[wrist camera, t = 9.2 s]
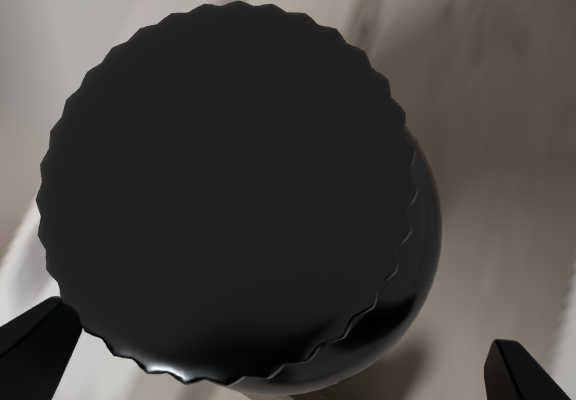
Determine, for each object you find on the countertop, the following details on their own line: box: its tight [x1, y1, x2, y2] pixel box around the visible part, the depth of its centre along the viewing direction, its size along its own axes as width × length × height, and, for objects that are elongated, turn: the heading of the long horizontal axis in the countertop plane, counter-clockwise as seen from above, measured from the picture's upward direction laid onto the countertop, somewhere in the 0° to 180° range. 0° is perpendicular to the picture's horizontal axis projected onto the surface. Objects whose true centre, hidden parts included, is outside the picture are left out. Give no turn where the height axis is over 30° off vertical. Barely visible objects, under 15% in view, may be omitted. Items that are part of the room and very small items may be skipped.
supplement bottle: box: [36, 1, 442, 396], centre depth 11 cm, size 7×7×12 cm
